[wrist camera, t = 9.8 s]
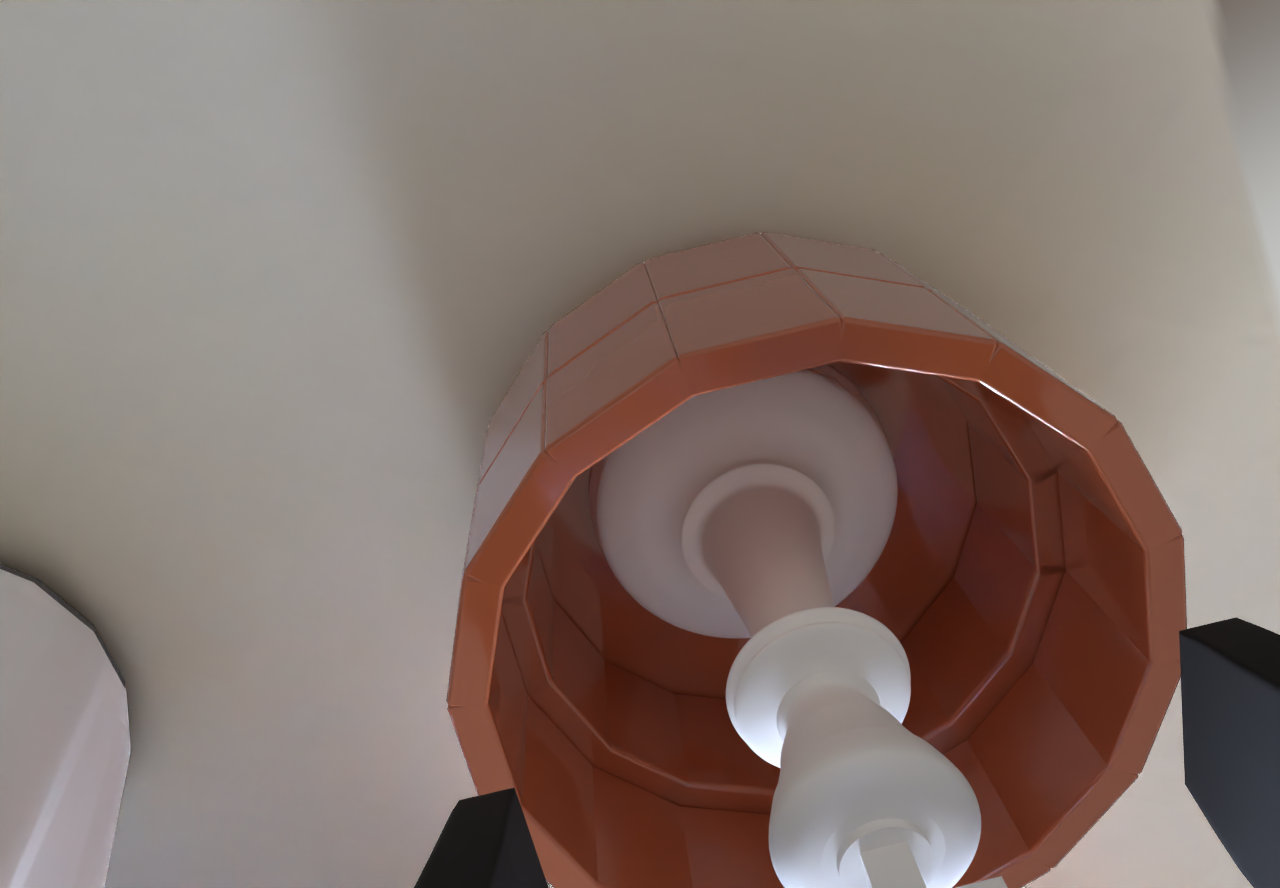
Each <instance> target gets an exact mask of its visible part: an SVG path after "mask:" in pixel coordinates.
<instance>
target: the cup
mask: <svg viewBox="0 0 1280 888" xmlns="http://www.w3.org/2000/svg"><path fill="white" fill-rule="evenodd" d="M130 752H131V745H130V732H129V719H128V706H127V693H126V689H125V681H124V679H123V678H122V676H121V674H120V672H119V670H118V669H117V667H116V665H115V663H114V661H113V660H112V658H111V656H110V654H109V652H108V650H107V649H106V647H105V645H104V643H103V641H102V640H101V638H100V636H99V634H98V632H97V631H96V629H95V627H94V625H92V624H91V623H90V622H89V621H88V620H86V619H85V618H84V617H83V616H82V615H80V614H79V613H78V612H77V611H75V610H74V609H73V608H72V607H71V606H69V605H68V604H67V603H66V602H65V601H63V600H62V599H61V598H60V597H59V596H57V595H56V594H55V593H54V592H52V591H51V590H50V589H49V588H48V587H46V586H45V585H44V584H43V583H42V582H40V581H39V580H38V579H36V578H33V577H31V576H28V575H26V574H23V573H21V572H18V571H16V570H13V569H11V568H8V567H6V566H3V565H1V564H0V888H104V886H105V881H106V876H107V870H108V865H109V860H110V855H111V850H112V845H113V840H114V834H115V829H116V824H117V819H118V814H119V809H120V804H121V798H122V793H123V788H124V783H125V778H126V773H127V768H128V762H129V757H130Z"/></svg>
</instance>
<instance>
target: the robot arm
mask: <svg viewBox="0 0 1280 888" xmlns="http://www.w3.org/2000/svg"><path fill="white" fill-rule="evenodd" d="M1179 642H1180V668H1181V694H1182V719H1183V745H1184V770H1185V785H1186V786H1187V788H1188V790H1189V791H1190V793H1191V794H1192V796H1193V798H1194V799H1195V801H1196V803H1197V804H1198V806H1199V807H1200V809H1201V811H1202V812H1203V814H1204V816H1205V817H1206V819H1207V820H1208V822H1209V824H1210V825H1211V827H1212V828H1213V830H1214V832H1215V833H1216V835H1217V836H1218V838H1219V839H1220V841H1221V842H1222V844H1223V845H1224V847H1225V848H1226V850H1227V851H1228V853H1229V854H1230V856H1231V858H1232V859H1233V861H1234V862H1235V864H1236V865H1237V867H1238V868H1239V870H1240V871H1241V872H1242V874H1243V875H1244V876H1245V877H1246V879H1247V880H1248V881H1249V882H1250V884H1251V885H1252V886H1253V887H1254V888H1280V635H1278V634H1276V633H1274V632H1271V631H1269V630H1267V629H1264V628H1262V627H1259V626H1257V625H1254V624H1252V623H1249V622H1246V621H1244V620H1241V619H1238V618H1232V619H1228V620H1224V621H1219V622H1215V623H1211V624H1207V625H1202V626H1198V627H1194V628H1190V629H1185V630H1181V631H1179ZM414 888H548V885H547V882H546V879H545V876H544V873H543V870H542V867H541V864H540V861H539V858H538V855H537V852H536V849H535V846H534V843H533V840H532V837H531V834H530V831H529V828H528V825H527V823H526V820H525V817H524V814H523V811H522V808H521V805H520V802H519V799H518V796H517V793H516V790H515V787H514V788H510V789H506V790H501V791H497V792H493V793H489V794H484V795H480V796H476V797H472V798H467V799H463V800H459V802H458V803H457V804H456V806H455V807H454V809H453V810H452V812H451V814H450V816H449V818H448V820H447V822H446V824H445V826H444V828H443V830H442V833H441V835H440V837H439V839H438V841H437V843H436V845H435V847H434V849H433V851H432V853H431V855H430V857H429V859H428V861H427V863H426V865H425V867H424V869H423V871H422V873H421V875H420V877H419V879H418V881H417V883H416V885H415V887H414Z"/></svg>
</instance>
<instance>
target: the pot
mask: <svg viewBox="0 0 1280 888" xmlns="http://www.w3.org/2000/svg"><path fill="white" fill-rule="evenodd" d="M823 365H829V366H830V367H832V368H834V369H835V370H836V371H838V372H839V373H841V374H842V375H843V376H845V377H846V378H847V379H848V380H849V381H850V382H851V383H853V384H854V385H855V386H856V387H857V388H858V389H859V391H860V392H861V393H862V394H863V395H864V396H865V398H866V399H867V400H868V402H869V403H870V404H871V406H872V407H873V409H874V411H875V412H876V414H877V416H878V418H879V420H880V422H881V424H882V426H883V429H884V431H885V434H886V437H887V440H888V443H889V445H890V448H891V451H892V454H893V458H894V462H895V467H896V473H897V485H898V494H897V507H896V513H895V518H894V522H893V526H892V529H891V532H890V535H889V538H888V540H887V543H886V545H885V547H884V549H883V551H882V553H881V555H880V557H879V559H878V560H877V562H876V564H875V565H874V567H873V568H872V570H871V571H870V572H869V574H868V575H867V576H866V578H865V579H864V580H863V581H862V582H861V583H860V585H859V586H858V587H857V588H856V589H855V590H854V591H853V592H852V593H851V594H850V595H848V596H847V597H846V598H845V599H844V600H843V601H841V602H840V603H839V604H838V605H836V606H835V607H839V608H846V609H851V610H855V611H858V612H861V613H864V614H866V615H868V616H870V617H872V618H874V619H876V620H878V621H879V622H881V623H882V624H883V625H885V626H886V627H887V628H888V629H889V630H890V631H891V632H892V633H893V634H894V635H895V636H896V638H897V639H898V640H899V642H900V643H901V645H902V647H903V649H904V651H905V653H906V656H907V658H908V662H909V666H910V675H911V682H910V683H911V696H910V703H909V707H908V710H907V713H906V716H905V718H904V720H903V722H902V725H903V726H904V727H905V728H906V729H907V730H909V731H910V732H911V733H912V734H914V735H916V736H918V737H920V738H921V739H923V740H925V741H926V742H928V743H929V744H930V745H932V746H933V747H934V748H935V749H937V750H938V751H939V752H940V753H941V754H943V755H944V756H945V757H946V758H947V759H948V760H950V761H951V762H952V763H953V764H954V765H955V766H956V767H957V768H958V769H959V771H960V772H961V773H962V774H963V775H964V777H965V778H966V779H967V781H968V782H969V784H970V786H971V787H972V789H973V791H974V793H975V795H976V798H977V801H978V804H979V808H980V814H981V834H980V840H979V844H978V848H977V851H976V853H975V856H974V858H973V860H972V862H971V864H970V865H969V867H968V869H967V870H966V872H965V873H964V875H963V876H962V877H961V878H960V880H959V881H958V882H957V883H956V884H955V885H954V886H953V887H952V888H956V887H960V886H964V885H968V884H972V883H976V882H980V881H984V880H988V879H992V878H996V877H1000V876H1002V878H1003V880H1004V882H1005V884H1006V885H1007V887H1008V888H1021V887H1023V886H1025V885H1027V884H1029V883H1030V882H1032V881H1034V880H1036V879H1037V878H1039V877H1041V876H1043V875H1044V874H1046V873H1048V872H1049V871H1050V868H1054V867H1056V866H1057V865H1058V864H1059V862H1060V861H1061V860H1062V859H1063V858H1064V857H1065V856H1066V855H1067V854H1068V853H1069V852H1070V851H1071V850H1072V848H1073V847H1074V846H1075V845H1076V844H1077V843H1078V842H1079V841H1080V840H1081V839H1082V838H1083V837H1084V835H1085V834H1086V833H1087V832H1088V831H1089V830H1090V829H1091V828H1092V827H1093V826H1094V825H1095V824H1096V823H1097V821H1098V820H1099V819H1100V818H1101V817H1102V816H1103V815H1104V814H1105V813H1106V812H1107V811H1108V810H1109V808H1110V807H1111V806H1112V805H1113V804H1114V803H1115V802H1116V801H1117V800H1118V799H1119V798H1120V797H1121V796H1122V794H1123V793H1124V792H1125V791H1126V790H1127V789H1128V788H1129V787H1130V786H1131V785H1132V784H1133V783H1134V782H1135V780H1136V779H1137V778H1138V774H1140V773H1141V772H1142V770H1143V767H1144V765H1145V762H1146V760H1147V757H1148V755H1149V753H1150V750H1151V748H1152V745H1153V743H1154V740H1155V738H1156V736H1157V733H1158V731H1159V728H1160V726H1161V723H1162V721H1163V719H1164V716H1165V714H1166V711H1167V709H1168V706H1169V704H1170V701H1171V699H1172V697H1173V694H1174V692H1175V689H1176V687H1177V684H1178V682H1179V680H1180V677H1181V668H1180V642H1179V631H1181V630H1185V629H1187V617H1186V588H1185V559H1184V538H1183V535H1182V530H1181V528H1180V526H1179V524H1178V522H1177V520H1176V519H1175V517H1174V515H1173V513H1172V512H1171V510H1170V508H1169V506H1168V505H1167V503H1166V501H1165V499H1164V497H1163V496H1162V494H1161V492H1160V490H1159V489H1158V487H1157V485H1156V483H1155V481H1154V480H1153V478H1152V476H1151V474H1150V473H1149V471H1148V469H1147V467H1146V466H1145V464H1144V462H1143V460H1142V458H1141V457H1140V455H1139V453H1138V451H1137V450H1136V448H1135V446H1134V444H1133V442H1132V441H1131V439H1130V437H1129V435H1128V434H1127V432H1126V430H1125V428H1124V426H1123V425H1122V423H1121V422H1120V421H1118V420H1117V419H1116V417H1115V416H1114V415H1113V414H1111V413H1110V412H1109V411H1107V410H1106V409H1105V408H1103V407H1102V406H1100V405H1099V404H1098V403H1096V402H1095V401H1093V400H1092V399H1091V398H1089V397H1088V396H1086V395H1085V394H1084V393H1082V392H1081V391H1079V390H1078V389H1077V388H1075V387H1074V386H1073V385H1071V384H1070V383H1068V382H1067V381H1066V380H1064V379H1063V378H1061V377H1060V376H1059V375H1057V374H1056V373H1054V372H1053V371H1052V370H1050V369H1049V368H1048V367H1046V366H1045V365H1043V364H1042V363H1041V362H1039V361H1038V360H1036V359H1035V358H1034V357H1032V356H1031V355H1029V354H1028V353H1026V352H1025V351H1024V350H1023V349H1021V348H1020V347H1018V346H1017V345H1016V344H1014V343H1013V342H1011V341H1010V340H1009V339H1007V338H1006V337H1004V336H1003V335H1002V334H1000V333H999V332H998V331H996V330H995V329H993V328H992V327H991V326H989V325H988V324H986V323H985V322H984V321H982V320H981V319H979V318H978V317H977V316H975V315H974V314H973V313H971V312H970V311H968V310H967V309H966V308H964V307H963V306H961V305H960V304H958V303H956V302H955V301H953V300H952V299H950V298H949V297H947V296H946V295H944V294H943V293H941V292H940V291H938V290H937V289H935V288H934V287H932V286H931V285H929V284H928V283H926V282H925V281H923V280H922V279H920V278H919V277H917V276H916V275H914V274H912V273H911V272H909V271H908V270H906V269H905V268H903V267H902V266H900V265H899V264H897V263H896V262H894V261H893V260H891V259H890V258H888V257H887V256H885V255H884V254H882V253H878V252H876V251H875V250H873V249H867V248H861V247H855V246H849V245H842V244H836V243H830V242H824V241H818V240H812V239H805V238H799V237H793V236H787V235H781V234H774V233H768V232H762V233H761V234H760V233H753V234H749V235H745V236H741V237H736V238H732V239H728V240H724V241H720V242H716V243H712V244H707V245H703V246H699V247H695V248H691V249H687V250H682V251H678V252H674V253H670V254H666V255H662V256H657V257H653V258H649V259H647V260H645V262H644V263H639V264H637V265H636V266H634V267H633V268H632V269H630V270H629V271H627V272H626V273H625V274H623V275H622V276H620V277H619V278H618V279H616V280H615V281H613V282H612V283H611V284H609V285H608V286H606V287H605V288H604V289H602V290H601V291H600V292H598V293H597V294H595V295H594V296H593V297H591V298H590V299H588V300H587V301H586V302H584V303H583V304H581V305H580V306H579V307H577V308H576V309H574V310H573V311H572V312H570V313H569V314H567V315H566V316H565V317H563V318H562V319H561V320H559V321H558V322H556V323H555V324H554V325H552V326H551V327H550V328H549V330H548V331H546V332H545V333H543V335H542V337H541V338H540V340H539V342H538V343H537V345H536V347H535V348H534V350H533V351H532V353H531V355H530V356H529V358H528V360H527V361H526V363H525V365H524V366H523V368H522V369H521V371H520V373H519V374H518V376H517V378H516V379H515V381H514V382H513V384H512V386H511V387H510V389H509V391H508V392H507V394H506V396H505V397H504V399H503V400H502V402H501V404H500V405H499V407H498V409H497V410H496V412H495V413H494V415H493V417H492V418H491V420H490V422H489V427H488V429H487V431H486V437H485V443H484V449H483V455H482V461H481V467H480V472H479V478H478V484H477V490H476V497H475V503H474V509H473V514H472V520H471V526H470V532H469V538H468V544H467V550H466V556H465V562H464V568H463V574H462V581H461V589H460V596H459V604H458V612H457V620H456V628H455V636H454V644H453V652H452V660H451V668H450V676H449V684H448V692H447V700H446V701H447V704H448V707H447V710H448V712H449V715H450V718H451V721H452V724H453V726H454V729H455V732H456V735H457V738H458V740H459V743H460V746H461V749H462V752H463V754H464V757H465V760H466V763H467V766H468V769H469V771H470V774H471V777H472V780H473V783H474V785H475V788H476V791H477V794H478V796H480V795H484V794H489V793H493V792H497V791H501V790H506V789H510V788H514V787H515V790H516V793H517V796H518V799H519V802H520V805H521V808H522V811H523V814H524V817H525V820H526V823H527V825H528V828H529V831H530V834H531V837H532V840H533V843H534V846H535V849H536V852H537V855H538V858H539V861H540V864H541V867H542V870H543V873H544V876H545V879H546V880H547V881H548V882H549V883H550V884H551V885H552V886H553V887H554V888H785V887H784V886H783V885H782V883H781V882H780V880H779V878H778V876H777V874H776V872H775V870H774V867H773V864H772V861H771V857H770V851H769V821H770V814H771V808H772V801H773V797H774V793H775V790H776V787H777V785H778V781H779V776H780V768H779V767H777V766H774V765H772V764H770V763H768V762H767V761H765V760H764V759H762V758H761V757H759V756H758V755H757V754H756V753H755V752H754V751H753V750H752V749H751V748H750V747H749V746H748V745H747V744H746V742H745V741H744V740H743V739H742V738H741V737H740V736H739V734H738V733H737V731H736V730H735V728H734V726H733V724H732V722H731V720H730V717H729V714H728V711H727V705H726V684H727V679H728V675H729V672H730V669H731V667H732V664H733V662H734V660H735V658H736V657H737V655H738V653H739V652H740V651H741V649H742V648H743V647H744V645H745V644H746V643H747V642H748V641H749V640H750V639H751V638H719V637H712V636H706V635H701V634H697V633H693V632H690V631H687V630H684V629H681V628H679V627H676V626H674V625H672V624H670V623H668V622H666V621H664V620H662V619H660V618H659V617H657V616H655V615H654V614H652V613H651V612H649V611H648V610H647V609H645V608H644V607H643V606H641V605H640V604H639V603H638V602H637V601H636V600H635V599H634V598H633V597H632V596H631V595H630V594H629V593H628V592H627V591H626V590H625V589H624V587H623V586H622V585H621V584H620V582H619V581H618V579H617V578H616V577H615V575H614V573H613V572H612V570H611V568H610V566H609V564H608V562H607V560H606V558H605V556H604V553H603V550H602V548H601V546H600V544H599V541H598V539H597V536H596V533H595V530H594V526H593V522H592V518H591V512H590V502H589V485H590V476H591V470H592V466H593V465H594V464H596V463H597V462H599V461H600V460H602V459H603V458H605V457H606V456H608V455H609V454H610V453H612V452H613V451H615V450H616V449H618V448H619V447H621V446H622V445H624V444H625V443H626V442H628V441H629V440H631V439H632V438H634V437H635V436H637V435H638V434H640V433H641V432H642V431H644V430H645V429H647V428H648V427H650V426H651V425H653V424H654V423H656V422H657V421H659V420H660V419H661V418H663V417H664V416H666V415H667V414H669V413H670V412H672V411H673V410H675V409H676V408H677V407H679V406H680V405H682V404H683V403H685V402H686V401H688V400H689V399H691V398H692V397H693V396H696V395H701V394H705V393H709V392H713V391H717V390H722V389H726V388H730V387H734V386H738V385H743V384H747V383H751V382H755V381H759V380H764V379H768V378H772V377H776V376H780V375H785V374H789V373H793V372H797V371H802V370H806V369H810V368H814V367H818V366H823Z"/></svg>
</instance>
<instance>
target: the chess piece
mask: <svg viewBox="0 0 1280 888" xmlns="http://www.w3.org/2000/svg"><path fill="white" fill-rule="evenodd" d="M897 494H898V485H897V473H896V467H895V462H894V458H893V454H892V451H891V448H890V445H889V443H888V440H887V437H886V434H885V431H884V429H883V426H882V424H881V422H880V420H879V418H878V416H877V414H876V412H875V411H874V409H873V407H872V406H871V404H870V403H869V402H868V400H867V399H866V398H865V396H864V395H863V394H862V393H861V392H860V391H859V389H858V388H857V387H856V386H855V385H854V384H853V383H851V382H850V381H849V380H848V379H847V378H846V377H845V376H843V375H842V374H841V373H839V372H838V371H836V370H835V369H834V368H832V367H830V366H829V365H823V366H818V367H814V368H810V369H806V370H802V371H797V372H793V373H789V374H785V375H780V376H776V377H772V378H768V379H764V380H759V381H755V382H751V383H747V384H743V385H738V386H734V387H730V388H726V389H722V390H717V391H713V392H709V393H705V394H701V395H696V396H693V397H692V398H691V399H689V400H688V401H686V402H685V403H683V404H682V405H680V406H679V407H677V408H676V409H675V410H673V411H672V412H670V413H669V414H667V415H666V416H664V417H663V418H661V419H660V420H659V421H657V422H656V423H654V424H653V425H651V426H650V427H648V428H647V429H645V430H644V431H642V432H641V433H640V434H638V435H637V436H635V437H634V438H632V439H631V440H629V441H628V442H626V443H625V444H624V445H622V446H621V447H619V448H618V449H616V450H615V451H613V452H612V453H610V454H609V455H608V456H606V457H605V458H603V459H602V460H600V461H599V462H597V463H596V464H594V465H593V466H592V470H591V476H590V485H589V502H590V512H591V518H592V522H593V526H594V530H595V533H596V536H597V539H598V541H599V544H600V546H601V548H602V550H603V553H604V556H605V558H606V560H607V562H608V564H609V566H610V568H611V570H612V572H613V573H614V575H615V577H616V578H617V579H618V581H619V582H620V584H621V585H622V586H623V587H624V589H625V590H626V591H627V592H628V593H629V594H630V595H631V596H632V597H633V598H634V599H635V600H636V601H637V602H638V603H639V604H640V605H641V606H643V607H644V608H645V609H647V610H648V611H649V612H651V613H652V614H654V615H655V616H657V617H659V618H660V619H662V620H664V621H666V622H668V623H670V624H672V625H674V626H676V627H679V628H681V629H684V630H687V631H690V632H693V633H697V634H701V635H706V636H712V637H719V638H751V639H750V640H749V641H748V642H747V643H746V644H745V645H744V647H743V648H742V649H741V651H740V652H739V653H738V655H737V657H736V658H735V660H734V662H733V664H732V667H731V669H730V672H729V675H728V679H727V684H726V705H727V711H728V714H729V717H730V720H731V722H732V724H733V726H734V728H735V730H736V731H737V733H738V734H739V736H740V737H741V738H742V739H743V740H744V741H745V742H746V744H747V745H748V746H749V747H750V748H751V749H752V750H753V751H754V752H755V753H756V754H757V755H758V756H759V757H761V758H762V759H764V760H765V761H767V762H768V763H770V764H772V765H774V766H777V767H779V768H780V776H779V781H778V785H777V787H776V790H775V793H774V797H773V801H772V808H771V814H770V821H769V851H770V857H771V861H772V864H773V867H774V870H775V872H776V874H777V876H778V878H779V880H780V882H781V883H782V885H783V886H784V887H785V888H952V887H953V886H954V885H955V884H956V883H957V882H958V881H959V880H960V878H961V877H962V876H963V875H964V873H965V872H966V870H967V869H968V867H969V865H970V864H971V862H972V860H973V858H974V856H975V853H976V851H977V848H978V844H979V840H980V834H981V814H980V808H979V804H978V801H977V798H976V795H975V793H974V791H973V789H972V787H971V786H970V784H969V782H968V781H967V779H966V778H965V777H964V775H963V774H962V773H961V772H960V771H959V769H958V768H957V767H956V766H955V765H954V764H953V763H952V762H951V761H950V760H948V759H947V758H946V757H945V756H944V755H943V754H941V753H940V752H939V751H938V750H937V749H935V748H934V747H933V746H932V745H930V744H929V743H928V742H926V741H925V740H923V739H921V738H920V737H918V736H916V735H914V734H912V733H911V732H910V731H909V730H907V729H906V728H905V727H904V726H903V725H902V722H903V720H904V718H905V716H906V713H907V710H908V707H909V703H910V696H911V683H910V682H911V675H910V666H909V662H908V658H907V656H906V653H905V651H904V649H903V647H902V645H901V643H900V642H899V640H898V639H897V638H896V636H895V635H894V634H893V633H892V632H891V631H890V630H889V629H888V628H887V627H886V626H885V625H883V624H882V623H881V622H879V621H878V620H876V619H874V618H872V617H870V616H868V615H866V614H864V613H861V612H858V611H855V610H851V609H846V608H839V607H835V606H836V605H838V604H839V603H840V602H841V601H843V600H844V599H845V598H846V597H847V596H848V595H850V594H851V593H852V592H853V591H854V590H855V589H856V588H857V587H858V586H859V585H860V583H861V582H862V581H863V580H864V579H865V578H866V576H867V575H868V574H869V572H870V571H871V570H872V568H873V567H874V565H875V564H876V562H877V560H878V559H879V557H880V555H881V553H882V551H883V549H884V547H885V545H886V543H887V540H888V538H889V535H890V532H891V529H892V526H893V522H894V518H895V513H896V507H897ZM956 888H1008V887H1007V885H1006V884H1005V882H1004V880H1003V878H1002V876H1000V877H996V878H992V879H988V880H984V881H980V882H976V883H972V884H968V885H964V886H960V887H956Z"/></svg>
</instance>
